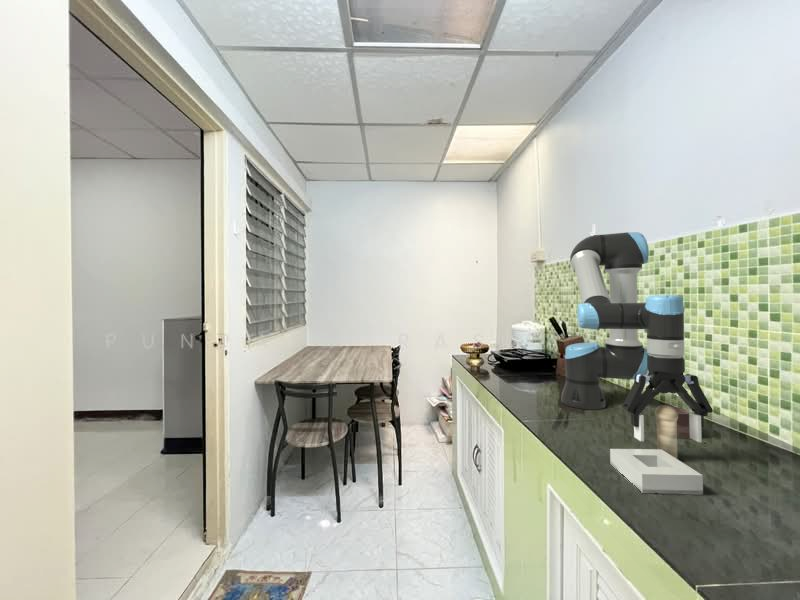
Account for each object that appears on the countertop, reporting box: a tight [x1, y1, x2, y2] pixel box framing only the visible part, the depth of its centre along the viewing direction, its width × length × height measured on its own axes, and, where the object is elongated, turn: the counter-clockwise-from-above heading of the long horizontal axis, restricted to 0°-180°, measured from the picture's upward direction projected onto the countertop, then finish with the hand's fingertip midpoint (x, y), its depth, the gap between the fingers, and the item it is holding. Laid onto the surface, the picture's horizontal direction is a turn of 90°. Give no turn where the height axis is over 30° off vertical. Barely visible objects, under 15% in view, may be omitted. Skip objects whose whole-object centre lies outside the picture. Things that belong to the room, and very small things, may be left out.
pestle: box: [654, 404, 678, 459], centre depth 85 cm, size 5×5×14 cm
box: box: [673, 407, 692, 440], centre depth 100 cm, size 6×6×7 cm
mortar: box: [609, 448, 704, 495], centre depth 76 cm, size 12×12×4 cm
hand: (667, 439), depth 85 cm, fingers open, 13 cm apart
